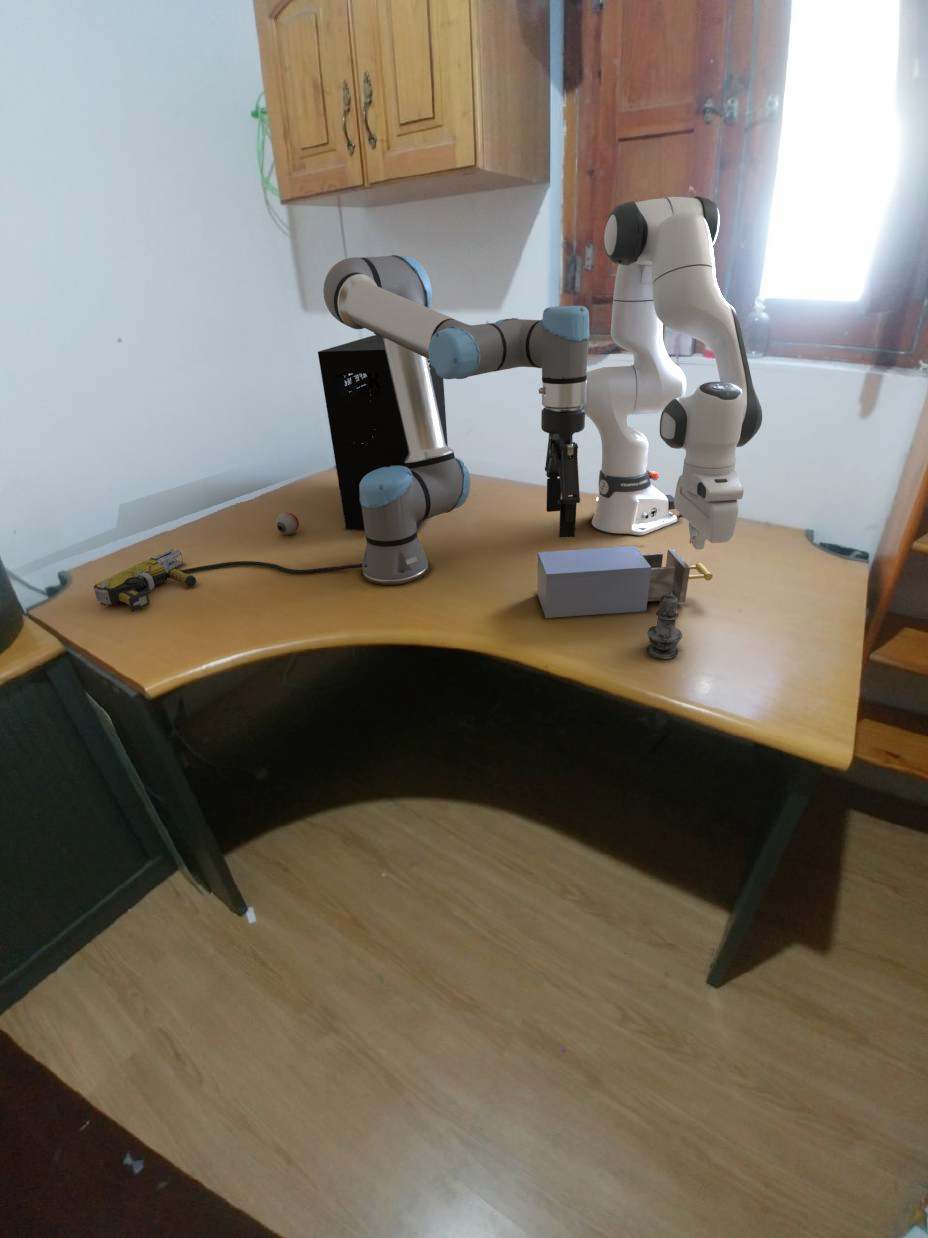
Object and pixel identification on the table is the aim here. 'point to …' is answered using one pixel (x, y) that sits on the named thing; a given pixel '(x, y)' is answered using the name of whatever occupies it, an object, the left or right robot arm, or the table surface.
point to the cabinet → (593, 581)
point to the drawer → (671, 575)
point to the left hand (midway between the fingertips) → (559, 523)
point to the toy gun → (141, 581)
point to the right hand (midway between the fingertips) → (696, 546)
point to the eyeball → (287, 523)
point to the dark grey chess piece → (665, 629)
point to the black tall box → (365, 417)
